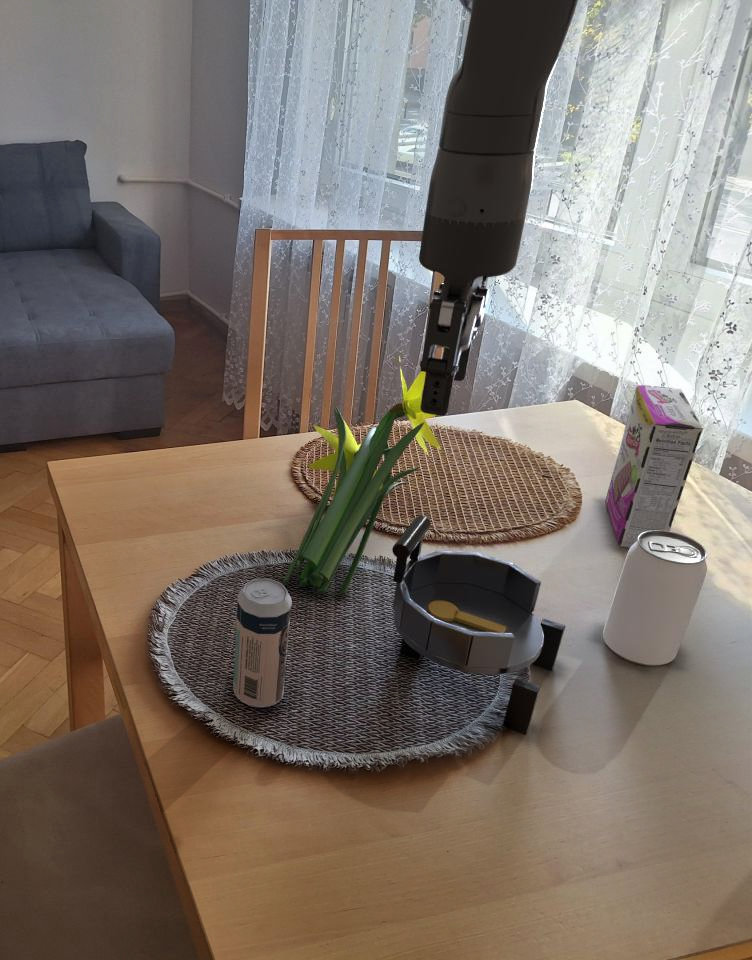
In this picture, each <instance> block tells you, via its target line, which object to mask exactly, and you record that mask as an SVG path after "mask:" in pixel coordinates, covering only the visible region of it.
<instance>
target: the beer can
mask: <svg viewBox="0 0 752 960" xmlns="http://www.w3.org/2000/svg"><path fill="white" fill-rule="evenodd" d="M236 600H237V601H236V622H235V623H236V624H235V641H234V643H235V644H234V661H233V662H234V663H233V681H232V682H233V685H232V691H233V693H234V696H235V697H236V698H237V699H238V700H239V701H241V703H244V704H246V705H248V706H250V707H253V708H269V707H272V706H274V705H277V704H278V703H279V702H281V700H282V699H283V697H284V694H285V683H286V681H285V680H286V672H287V671H286V669H287V657H288V647H289V646H288V645H289V634H290V626H291V625H290V623H291V614H292V613H291V612H292V611H291V610H292V605H293V601H292V600H293V599H292V597H291V596H290V594H289V592H288V589H287V588H286V587H285V586H283V585H282V582H279V581H277V580H274V579H272V578H254V579H252V580H250V581H248V582H246V583H245V584H244V586H243V587H242V588H241V590H240V591H239V592H238V595H237V599H236Z"/></svg>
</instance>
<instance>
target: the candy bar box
mask: <svg viewBox="0 0 752 960" xmlns="http://www.w3.org/2000/svg"><path fill="white" fill-rule="evenodd" d="M691 406H692V405H690V402H689V401H688V398H687V397H686V395H685V393H684V392H683V390H682V388H679V387H678V388H677V387H665V386H658V385H657V386H656V385H654V386H651V385H649V384H648V385H647V384H642V385H636V387H635V390H634V394H633V398H632V401H631V405H630V409H629V412H628V416H627V420H626V423H625V427H624V430H623V434H622V438H621V442H620V445H619V449H618V452H617V456H616V461H615V464H614V467H613V471H612V475H611V479H610V482H609V486H608V490H607V492H606V496H605V500H604V503H605V506H606V509H607V512H608V516H609V519H610V522H611V525H612V528H613V529H612V530H613V532H614V536H615V539H616V543H617V546H618V547H619V548H623V549H628V550H629V549H630V547H631V546H632V545H633V544H634V543H635V542H637V538H638V536H639V535H640V534H641V533H643V532H646V531H651V530H663V531H670V532H671V528H672V525H673V522H674V519H675V516H676V512H677V509H678V506H679V503H680V500H681V498H682V494H683V491H684V488H685V485H686V481H687V479H688V475H689V472H690V469H691V468H692V464H693V460H694V458H695V455H696V451H697V448H698V445H699V442H700V438H701V435H702V433H703V431H704V428H703V426H702V424H701V422H700V421H699V418H698V417H697V415H696V413H695V411H694V410H693V408H692V407H691Z"/></svg>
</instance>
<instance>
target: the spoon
mask: <svg viewBox="0 0 752 960" xmlns="http://www.w3.org/2000/svg"><path fill="white" fill-rule="evenodd" d="M428 613H429V614H430V615H431V616H432V617H433V618H435V619H437V620H440V621H453V620H456V621H458V622H461V623H464V624H467V625H470V626H473V627H476V628H479V629H482V630H485V631H488V632H491V633H504V632H505V630H506V626H503V625H500V624H497V623H494V622H491V621H488V620H485V619H482V618H479V617H476V616H473V615H470V614H467V613H464V612H461V611H459V610H458V608H457V607H456V606H455V605H454V604H452V603H450V602H447V601H441V600H438V601H433V602H431V603H430V604H429V605H428Z"/></svg>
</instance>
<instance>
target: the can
mask: <svg viewBox="0 0 752 960" xmlns="http://www.w3.org/2000/svg"><path fill="white" fill-rule="evenodd" d="M707 557H708V552H707V549H706V548H705V547H704V546H703V545H702V544H701V542H699V541H697V540H695V539H694V538H692V537H689V536H687V535H684V534H682V533H678V532H673V531H671V530H670V531H663V530H651V531H646V532H643V533H641V534H640V535H639V536H638V538H637V542H635V543H634V544H633V545H632V546H631V547H630V549H628V551H627V554H626V557H625V559H624V563H623V565H622V569H621V573H620V575H619V580H618V582H617V585H616V589H615V592H614V595H613V598H612V602H611V605H610V608H609V611H608V614H607V617H606V621H605V624H604V628H603V632H602V638H603V641H604V643H605V644H606V646H607V648H608V649H609V650H610V651H611V652H612V653H614V654H615V655H616V656H618V657H619V658H622V659H624V660H625V661H627V662H631V663H633V664H637V665H640V666H647V667H657V666H663V665H666V664H669V663H671V662H672V661H674V660H675V659H676V658H677V654H678V652H679V650H680V648H681V645H682V642H683V639H684V636H685V634H686V631H687V628H688V625H689V623H690V621H691V618H692V615H693V612H694V609H695V607H696V605H697V602H698V599H699V595H700V593H701V590H702V587H703V584H704V582H705V580H706V579H705V578H706V576H707V572H708V564H707V561H706V559H707Z"/></svg>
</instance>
